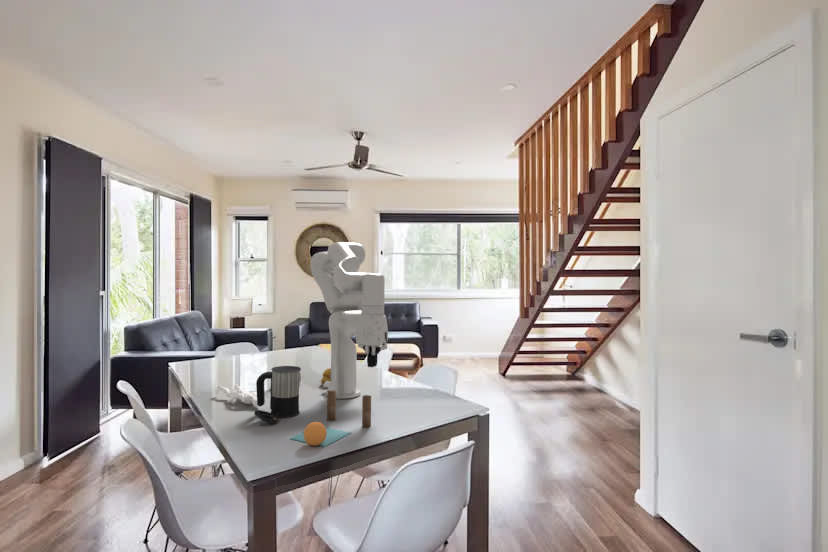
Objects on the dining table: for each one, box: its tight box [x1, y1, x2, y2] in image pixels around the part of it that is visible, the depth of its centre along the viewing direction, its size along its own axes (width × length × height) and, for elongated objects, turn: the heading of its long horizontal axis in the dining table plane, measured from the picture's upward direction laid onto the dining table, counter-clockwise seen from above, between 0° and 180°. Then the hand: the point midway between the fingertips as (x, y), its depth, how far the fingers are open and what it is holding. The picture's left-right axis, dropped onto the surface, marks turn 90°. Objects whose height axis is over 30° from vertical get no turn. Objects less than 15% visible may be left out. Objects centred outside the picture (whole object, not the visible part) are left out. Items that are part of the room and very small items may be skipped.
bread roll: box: [320, 367, 331, 386], centre depth 190 cm, size 13×10×8 cm
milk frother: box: [253, 365, 302, 425], centre depth 145 cm, size 14×16×15 cm
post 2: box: [361, 394, 372, 429], centre depth 137 cm, size 3×3×9 cm
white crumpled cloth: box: [215, 383, 260, 408], centre depth 163 cm, size 12×6×25 cm
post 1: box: [326, 390, 337, 422], centre depth 144 cm, size 3×3×9 cm
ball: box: [303, 421, 327, 446], centre depth 122 cm, size 6×6×6 cm
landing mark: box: [289, 426, 352, 448], centre depth 129 cm, size 12×12×1 cm
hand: (372, 366), depth 152 cm, fingers closed
